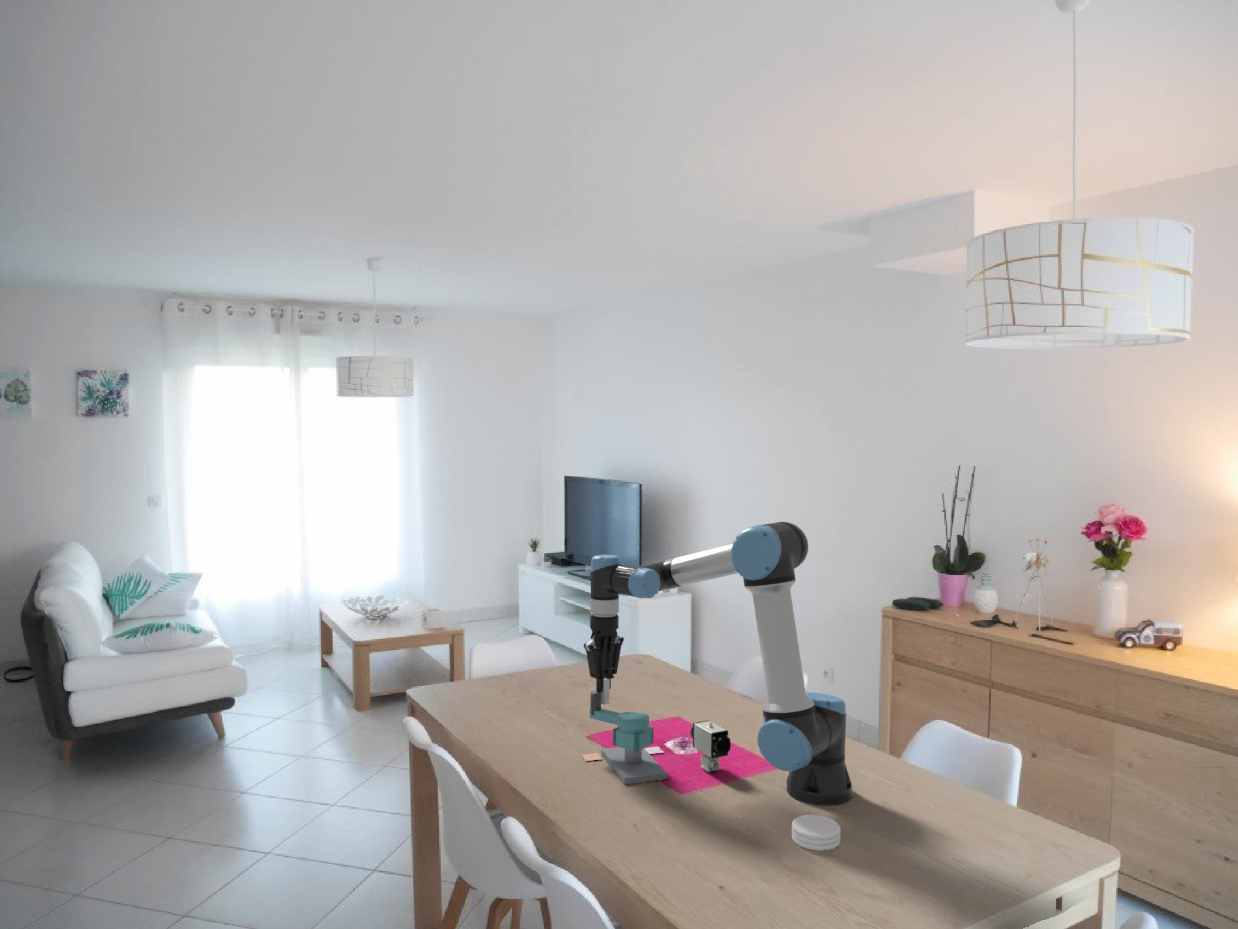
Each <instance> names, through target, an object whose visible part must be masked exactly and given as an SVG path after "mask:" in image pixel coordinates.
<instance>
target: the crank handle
mask: <svg viewBox="0 0 1238 929" xmlns="http://www.w3.org/2000/svg"><path fill="white" fill-rule="evenodd" d="M589 702H590V704H589V705H590V708H589V719H592V720H596V721H600V722H604V723H608V724H611V725H615V726H616V727H615V728H613V729H612V746H615V747H622V748H625V749H629V750H633V751H639V750H641V749H643V748H648V746H651V745H652V744H654V730H655V728H654V727H653V726H650V715H648V714H647V713H644V712H641V711H626V712H624V711H623V712H618V711H613V710H608V709H605V708H602V704H601V692H598V691H597V690H593V691H590V700H589Z"/></svg>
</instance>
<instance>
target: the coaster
mask: <svg viewBox="0 0 1238 929" xmlns="http://www.w3.org/2000/svg"><path fill="white" fill-rule="evenodd" d="M841 831H842V829H841V826H840V824H839V823H838V822H837V821H835V820H834V819H832V818H829V817H827V816H824V815H819V814H804V815H800V816H797V817H795V818H794V819H793V820H792V823H791V839H792V841H793V842H794V843H795V845H798V846H799V847H801V848H804V849H806V850H809V849H810V850H809V851H815V850H816V851H815V852H826V850H828V851H832V850H836V847H837V846H838V847H839V846H840V845H841V836H842V835H841ZM838 847H837V848H838ZM831 849H832V850H831ZM824 850H825V851H824Z"/></svg>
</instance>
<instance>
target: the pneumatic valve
mask: <svg viewBox="0 0 1238 929" xmlns="http://www.w3.org/2000/svg"><path fill="white" fill-rule="evenodd" d="M690 737H691V739H692V747H693V748H694V749H696V750H697V751H699V752H701V753H702V754H701V755H700V763H701V765H700V769H702V770H703V771H706V772H707V773H709V772H710V773H711V772H714V771H716V772H718V771H720V762H719V761H720V758H723V757H727V756H729V751H731V745H732V743H731V738H730V737H729V730H727V729H725V728H724V726H722V725H720V724H716V723H715V722H713V721H710V720H703V721H697V722H693V723H692V727H691V729H690ZM704 754H705V755H704ZM717 770H718V771H717Z"/></svg>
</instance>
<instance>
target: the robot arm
mask: <svg viewBox="0 0 1238 929" xmlns="http://www.w3.org/2000/svg"><path fill="white" fill-rule="evenodd" d="M808 552H809V541H808V538H807V535H806V534H805V532H804V530H802V528H800V527H799V526H797V525H796V524H794V523H791V522H788V521H778V522H771V523H764V524H755V525H752V526H751V527H747V528H744V529H743V530H741V532H739V533H738V534H737V535H736V536H735V538H734V540H733V543H728V544H724V545H721V546H717V547H714V548H708V549H705V550H702V551H701V550H700V551H698V552H693V553H691V554H686V555H682V556H678V557H675V558H670V559H667V560H666V559H665V560H662V561H657V562H653V563H648V564H642V565H637V566H631V565H623V564H621V563H620V557H619V556H618V555H615V554H598V555H594V556H592V558H591V559H590V560H591V561H590V571H589V576H590V577H589V578H590V597H589V598H590V599H589V600H590V606H589V611H590V612H589V613H590V616H589V628H590V630H591V636H590V640H589V641H588V642H585V643H584V644H583V648H584V650H585V652H586V658H587V664H588V671H589V676H590V678H593V679H595V680H596V682H595V684H596V686H595V687H596V688H595V691H598V692H601V705H604V706H605V705H608V704H610V690H611V687H612V680H613V679H614V678H615V675H617V674H618V668H619V662H620V655H621V650H622V649H621V648H622V646H623V643H624V640H625V638H624V637H623V636H619V635H618V631H617V630H618V629H619V619H620V618H619V617H620V616H619V615H618V613H619V612H620V605H619V604H620V598H619V596H620V595H622V596H629V597H634V598H637V599H652V598H654V597H656V596H655V595H657V594H658V593H659V592H662V591H666V590H667V591H668V590H672V589H676V588H679V587H680V588H681V587H683V586H687V585H692V584H695V583H700V582H701V583H702V582H706V581H709V580H713V579H718V578H723V577H727V576H731V575H735V574H739V575H740V576H741V577H742V579H743V586H744V589H746V590H748V591H749V592H750V593H751V596H752V601H753V608H754V615H755V622H756V629H757V634H758V640H759V641H758V642H759V649H760V655H761V663H762V669H763V676H764V682H765V691H766V696H767V700H766V701H765V703H764V704H763V705H762V707H761V708H762V716H763V717H762V718H763V724H762V725H761V726H760V729H759V731H758V732H757V739H756V740H757V745H758V749H759V751H760V754H761V755H762V758H764V759H765V760H766V761H767V762H768V763H770V765H771V766H773V767H774V768H775V769H777V770H780V771H782V772H783V771H784V772H788V775H787V778H786V792H787V793H788V794H789V796H791V797H793V798H794V799H796V800H799V801H800V802H804V803H808V804H811V805H819V806H837V805H841V804H845V803H847V802H849V801H850V800H851V799H852V798H853V784H852V780H851V777H850V774H849V771H848V768H847V765H846V735H847V734H846V732H847V731H846V727H847V710H846V702H845V701H844V700H843V699H842V698H840V697H838V696H836V695H831V694H828V693H819V692H809V691H808V692H807V691H806V688H805V686H806V685H805V679H804V672H803V667H802V666H803V665H802V661H801V660H802V659H801V652H800V646H799V641H798V632H797V626H796V620H795V619H796V618H795V613H794V607H793V600H792V592H791V589H792V586H794V584H795V583H796V573H795V569H797V568H798V567H800V565H802V563H804V562H805V560H806V557H807V556H808ZM611 679H612V680H611Z"/></svg>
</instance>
